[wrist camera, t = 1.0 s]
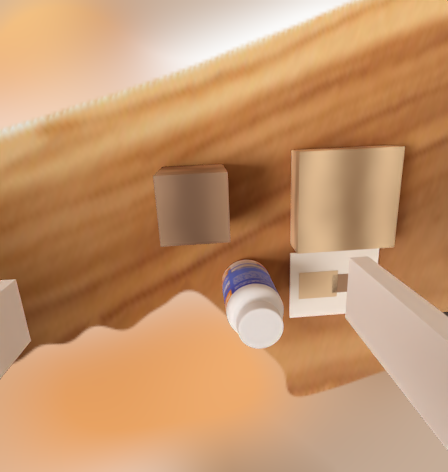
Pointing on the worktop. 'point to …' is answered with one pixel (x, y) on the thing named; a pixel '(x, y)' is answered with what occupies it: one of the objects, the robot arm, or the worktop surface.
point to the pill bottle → (252, 304)
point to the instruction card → (321, 281)
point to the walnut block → (192, 204)
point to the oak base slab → (345, 198)
